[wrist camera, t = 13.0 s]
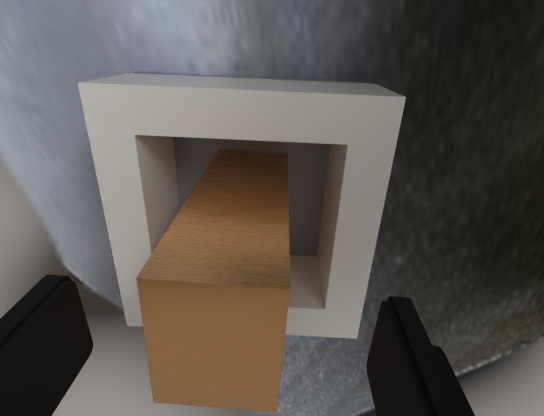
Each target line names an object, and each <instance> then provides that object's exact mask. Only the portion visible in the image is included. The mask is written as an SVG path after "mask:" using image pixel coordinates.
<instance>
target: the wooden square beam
mask: <svg viewBox="0 0 544 416" xmlns="http://www.w3.org/2000/svg"><path fill="white" fill-rule="evenodd" d="M136 280H137V287H138V294H139V301H140V308H141V316H142V323H143V330H144V337H145V344H146V351H147V358H148V365H149V373H150V380H151V387H152V394H153V401H154V402H158V403H171V404H185V405H197V406H211V407H223V408H236V409H249V410H262V411H276V412H277V404H278V395H279V386H280V377H281V368H282V359H283V350H284V341H285V332H286V323H287V314H288V305H289V296H290V252H289V201H288V154H278V153H264V152H251V151H237V150H223V149H219V150H218V151H217V153H216V154H215V156H214V158H213V159H212V161H211V162H210V164H209V165H208V167H207V168H206V170H205V172H204V173H203V175H202V176H201V178H200V179H199V181H198V183H197V184H196V186H195V187H194V189H193V190H192V192H191V193H190V195H189V197H188V198H187V200H186V201H185V203H184V204H183V206H182V207H181V209H180V211H179V212H178V214H177V215H176V217H175V218H174V220H173V221H172V223H171V225H170V226H169V228H168V229H167V231H166V232H165V234H164V235H163V237H162V239H161V240H160V242H159V243H158V245H157V246H156V248H155V250H154V251H153V253H152V254H151V256H150V257H149V259H148V260H147V262H146V264H145V265H144V267H143V268H142V270H141V271H140V273H139V274H138V276H137V278H136Z"/></svg>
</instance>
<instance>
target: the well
mask: <svg viewBox="0 0 544 416" xmlns="http://www.w3.org/2000/svg"><path fill="white" fill-rule="evenodd" d="M78 87H79V92H80V97H81V101H82V106H83V111H84V116H85V121H86V126H87V131H88V136H89V141H90V146H91V151H92V156H93V161H94V166H95V170H96V175H97V180H98V185H99V190H100V195H101V200H102V205H103V210H104V215H105V220H106V225H107V230H108V235H109V239H110V244H111V249H112V254H113V259H114V264H115V269H116V274H117V279H118V284H119V289H120V294H121V299H122V304H123V308H124V313H125V318H126V323H127V326H138V327H143V323H142V316H141V308H140V301H139V294H138V287H137V280H136V278H137V276H138V274H139V273H140V271H141V270H142V268H143V267H144V265H145V264H146V262H147V260H148V259H149V257H150V256H151V254H152V253H153V251H154V250H155V248H156V246H157V245H158V243H159V242H160V240H161V239H162V237H163V235H164V234H165V232H166V231H167V229H168V228H169V226H170V225H171V223H172V221H173V220H174V218H175V217H176V215H177V214H178V212H179V211H180V209H181V207H182V206H183V204H184V203H185V201H186V200H187V198H188V197H189V195H190V193H191V192H192V190H193V189H194V187H195V186H196V184H197V183H198V181H199V179H200V178H201V176H202V175H203V173H204V172H205V170H206V168H207V167H208V165H209V164H210V162H211V161H212V159H213V158H214V156H215V154H216V153H217V151H218V150H219V149H223V150H237V151H251V152H264V153H278V154H288V201H289V252H290V296H289V305H288V314H287V323H286V332H285V335H300V336H317V337H335V338H353V339H357V335H358V330H359V325H360V320H361V316H362V311H363V306H364V301H365V296H366V291H367V286H368V281H369V276H370V271H371V266H372V262H373V257H374V252H375V247H376V242H377V237H378V232H379V227H380V222H381V217H382V212H383V208H384V203H385V198H386V193H387V188H388V183H389V178H390V173H391V168H392V163H393V158H394V154H395V149H396V144H397V139H398V134H399V129H400V124H401V119H402V114H403V109H404V104H405V100H406V97H405V96H402V95H400V94H398V93H395V92H393V91H391V90H388V89H386V88H384V87H381V86H379V85H377V84H374V83H372V82H359V81H336V80H313V79H290V78H267V77H244V76H221V75H199V74H176V73H153V72H134V73H128V74H123V75H117V76H111V77H106V78H100V79H94V80H89V81H83V82H78Z"/></svg>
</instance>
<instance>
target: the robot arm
mask: <svg viewBox="0 0 544 416" xmlns="http://www.w3.org/2000/svg"><path fill="white" fill-rule="evenodd" d="M92 349H93V341H92V337H91V334H90V330H89V327H88V324H87V320H86V316H85V313H84V310H83V306H82V303H81V300H80V296H79V292H78V289H77V285H76V283H75V282H74V281H72V280H71V278H70V277H69V276H60V275H46V276H45V277H43V278H42V279H41V280H40V281H39V282H38V283H37V284H36V285H35V286H34V287H33V288H32V289H31V290H30V291H29V292H28V293H27V294H26V295H25V296H24V297H23V298H21V300H19V301H18V302H17V303H16V304H15V305H14V306H13V307H12V308H11V309H10V310H9V311H8V312H7V313H6V314H5V315H4V316H3V317H2V318H1V319H0V416H52V414H53V413H54V411H55V409H56V408H57V406H58V405H59V403H60V402H61V400H62V398H63V397H64V395H65V394H66V392H67V390H68V389H69V388H70V386H71V384H72V383H73V381H74V380H75V378H76V376H77V375H78V373H79V372H80V370H81V368H82V367H83V365H84V364H85V362H86V361H87V359H88V358H89V356H90V354H91V352H92ZM367 375H368V379H369V384H370V388H371V392H372V397H373V401H374V406H375V410H376V414H377V416H475V415H474V413H473V411H472V409H471V407H470V405H469V403H468V401H467V398H466V397H465V394H464V392H463V390H462V388H461V387H460V384H459V382H458V380H457V378H456V376H455V374H454V372H453V370H452V368H451V365H450V363H449V361H448V359H447V357H446V355H445V353H444V352H443V350H442V349H441V348H440V347H439V346H434V345H432V344H431V342H430V340H429V337H428V335H427V333H426V331H425V329H424V326H423V324H422V322H421V320H420V318H419V316H418V313H417V311H416V309H415V307H414V305H413V302H412V301H411V299H410V298H408V297H392V296H390V297H389V298H388V300H387V301H382V303H381V306H380V310H379V314H378V318H377V323H376V327H375V331H374V335H373V339H372V343H371V347H370V351H369V356H368V360H367Z"/></svg>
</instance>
